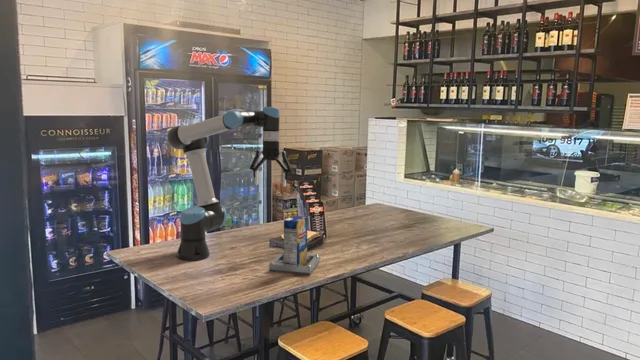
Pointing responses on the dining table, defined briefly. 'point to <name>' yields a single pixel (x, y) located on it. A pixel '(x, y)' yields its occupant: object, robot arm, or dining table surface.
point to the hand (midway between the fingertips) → (270, 185)
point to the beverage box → (295, 240)
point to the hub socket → (294, 269)
